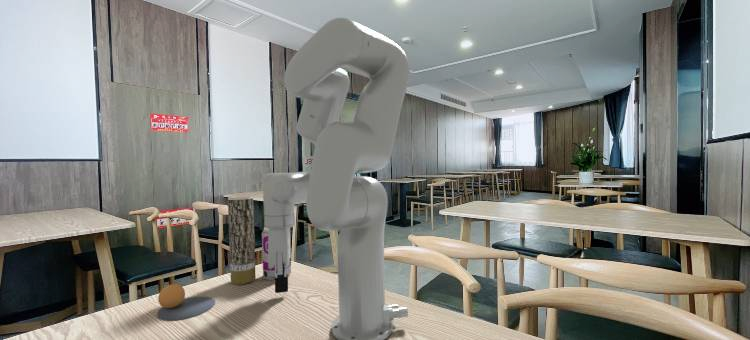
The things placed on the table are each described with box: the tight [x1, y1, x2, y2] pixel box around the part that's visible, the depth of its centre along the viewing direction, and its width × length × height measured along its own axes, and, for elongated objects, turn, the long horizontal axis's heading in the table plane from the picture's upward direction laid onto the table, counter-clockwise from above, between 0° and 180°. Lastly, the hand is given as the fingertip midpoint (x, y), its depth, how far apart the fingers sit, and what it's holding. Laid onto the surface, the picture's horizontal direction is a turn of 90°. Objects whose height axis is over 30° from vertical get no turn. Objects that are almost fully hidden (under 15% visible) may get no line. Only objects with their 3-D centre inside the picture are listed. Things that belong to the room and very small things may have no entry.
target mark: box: [157, 296, 216, 322], centre depth 77 cm, size 12×12×1 cm
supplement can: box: [261, 227, 292, 281], centre depth 97 cm, size 8×8×15 cm
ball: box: [157, 283, 186, 308], centre depth 77 cm, size 6×6×6 cm
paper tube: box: [227, 194, 257, 286], centre depth 93 cm, size 7×7×25 cm
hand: (281, 291), depth 82 cm, fingers closed
